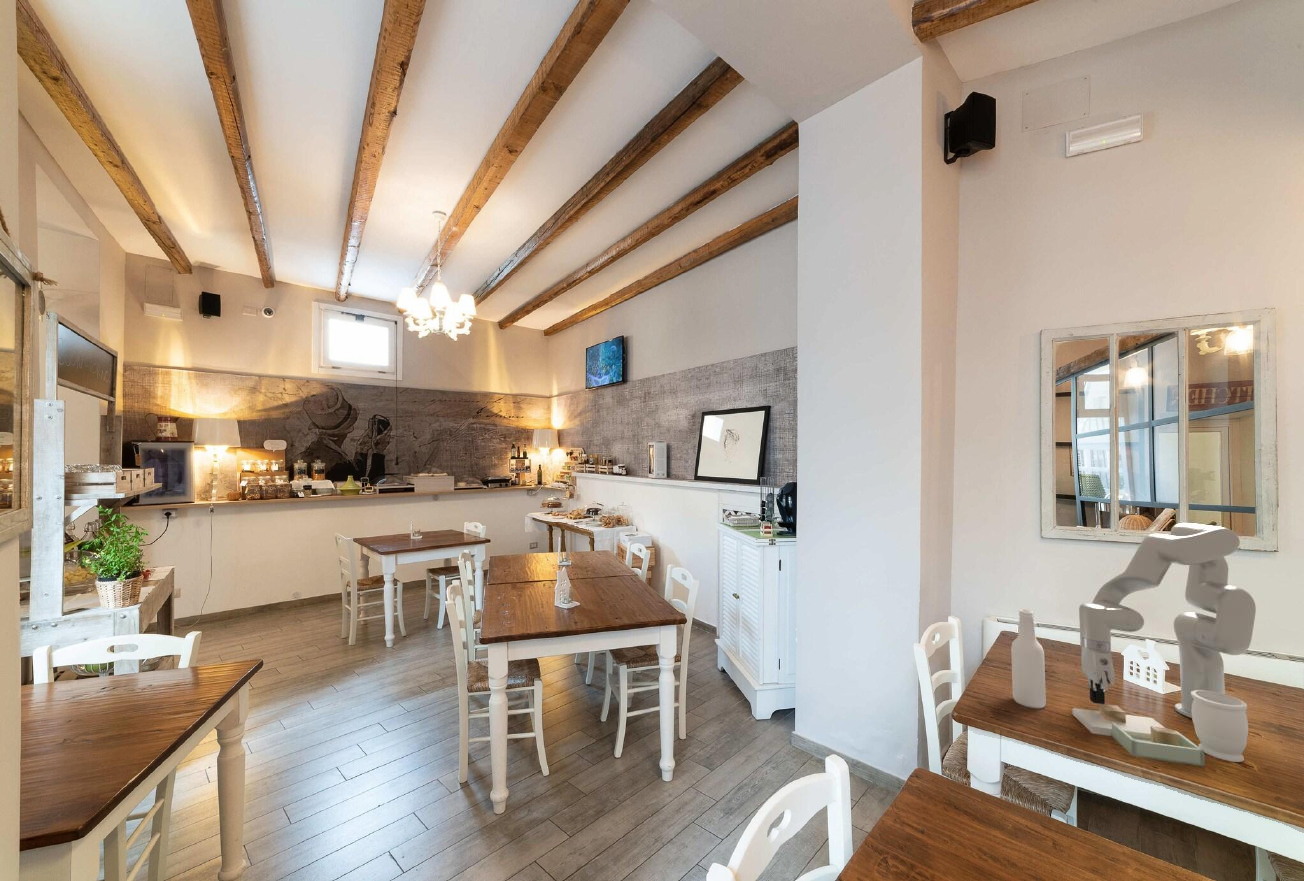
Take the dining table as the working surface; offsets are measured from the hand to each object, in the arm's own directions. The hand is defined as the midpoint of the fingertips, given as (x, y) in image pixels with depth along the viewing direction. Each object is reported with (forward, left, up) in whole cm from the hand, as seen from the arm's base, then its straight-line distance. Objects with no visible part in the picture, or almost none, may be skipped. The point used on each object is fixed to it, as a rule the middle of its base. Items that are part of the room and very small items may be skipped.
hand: (1097, 702), depth 163 cm
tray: (-4, +22, -3) cm, 23 cm away
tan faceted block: (-7, +18, 0) cm, 20 cm away
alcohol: (+18, -1, -3) cm, 19 cm away
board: (-2, +10, -3) cm, 11 cm away
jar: (-20, +18, -3) cm, 27 cm away
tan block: (0, +8, -1) cm, 9 cm away
